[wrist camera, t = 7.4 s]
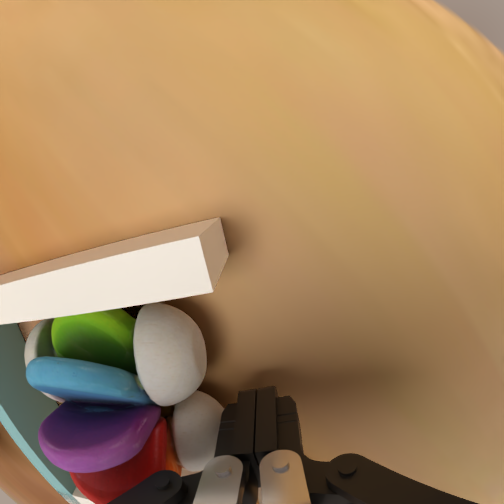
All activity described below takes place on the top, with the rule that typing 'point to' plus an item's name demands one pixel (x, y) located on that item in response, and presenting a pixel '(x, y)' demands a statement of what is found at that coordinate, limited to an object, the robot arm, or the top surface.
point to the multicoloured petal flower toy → (123, 396)
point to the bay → (93, 300)
